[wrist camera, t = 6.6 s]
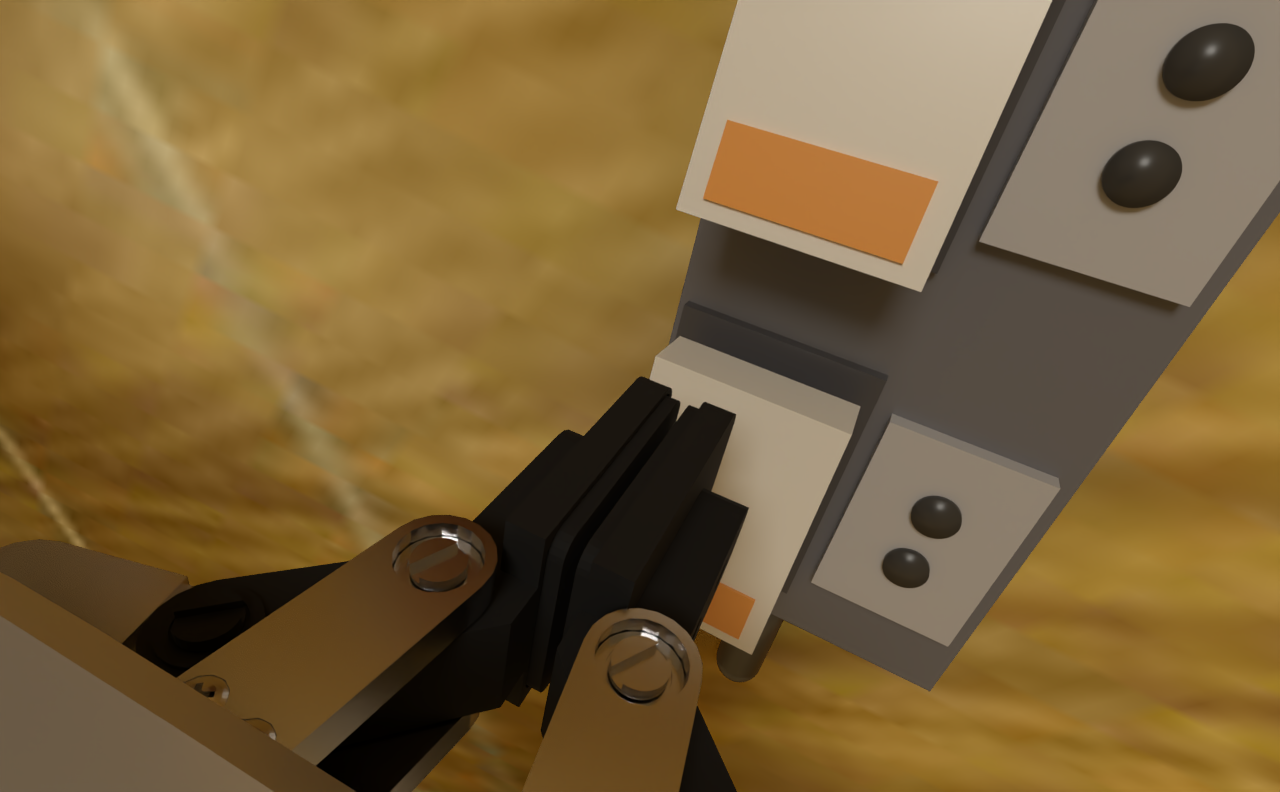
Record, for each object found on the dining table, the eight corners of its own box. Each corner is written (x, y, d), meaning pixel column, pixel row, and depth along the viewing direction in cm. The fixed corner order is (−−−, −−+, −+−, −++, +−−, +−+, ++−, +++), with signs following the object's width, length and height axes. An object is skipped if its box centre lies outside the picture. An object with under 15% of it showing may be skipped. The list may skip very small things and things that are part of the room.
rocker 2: (823, -189, 10) (811, -251, 9) (1109, -143, 9) (1144, -204, 8) (699, 210, 12) (673, 209, 11) (919, 282, 11) (921, 292, 10)
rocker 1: (680, 335, 14) (654, 357, 13) (860, 406, 13) (851, 436, 12) (621, 544, 17) (595, 577, 16) (766, 615, 16) (750, 657, 15)
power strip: (877, -232, 13) (832, -350, 9) (1411, -157, 11) (1660, -272, 7) (637, 594, 27) (576, 691, 23) (857, 705, 24) (833, 837, 20)
